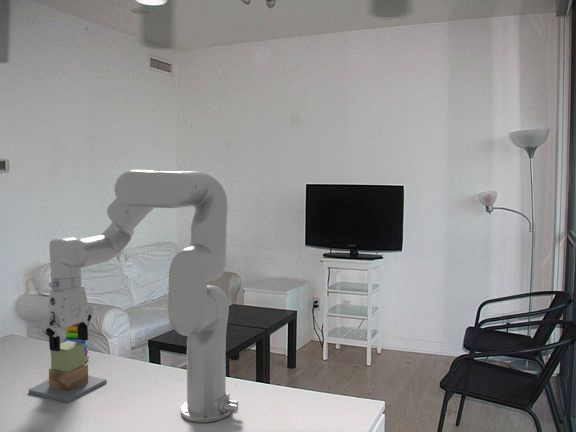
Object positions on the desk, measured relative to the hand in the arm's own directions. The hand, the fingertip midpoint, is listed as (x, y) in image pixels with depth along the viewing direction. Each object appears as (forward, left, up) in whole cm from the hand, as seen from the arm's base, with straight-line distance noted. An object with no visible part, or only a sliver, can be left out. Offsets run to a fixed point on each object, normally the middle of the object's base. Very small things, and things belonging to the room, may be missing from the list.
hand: (69, 345), depth 141 cm
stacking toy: (+15, -16, -12) cm, 25 cm away
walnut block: (+1, 0, -11) cm, 11 cm away
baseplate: (+1, 0, -12) cm, 12 cm away
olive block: (+1, 0, -6) cm, 6 cm away
